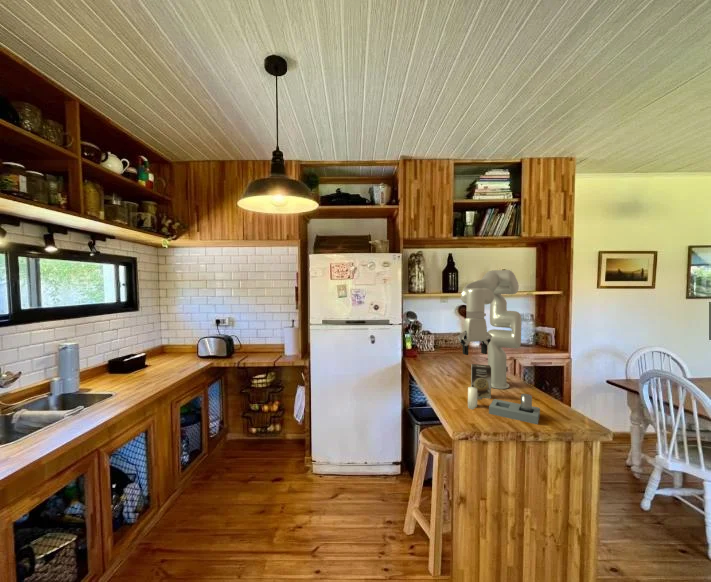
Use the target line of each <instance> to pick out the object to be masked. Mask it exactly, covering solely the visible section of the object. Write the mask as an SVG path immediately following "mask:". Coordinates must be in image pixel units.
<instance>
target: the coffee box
mask: <svg viewBox="0 0 711 582" xmlns="http://www.w3.org/2000/svg"><path fill="white" fill-rule="evenodd" d="M470 365H471V367H470V370H471V374H470V381H471V382H470V387H475V388H477V400H482V399H492V388H491V367H490V365H488V364H477V363H471V364H470Z"/></svg>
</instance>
